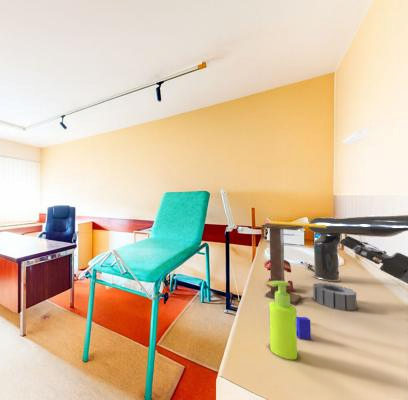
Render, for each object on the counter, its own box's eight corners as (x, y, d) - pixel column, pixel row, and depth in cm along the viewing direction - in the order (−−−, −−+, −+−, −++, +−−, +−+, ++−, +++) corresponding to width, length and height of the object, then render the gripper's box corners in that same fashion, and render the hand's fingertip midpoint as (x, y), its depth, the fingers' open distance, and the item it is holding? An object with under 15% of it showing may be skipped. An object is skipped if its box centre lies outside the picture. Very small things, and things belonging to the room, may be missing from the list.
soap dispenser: (261, 345, 63) (260, 278, 63) (283, 344, 64) (282, 277, 64) (279, 360, 57) (278, 286, 58) (303, 358, 58) (301, 285, 58)
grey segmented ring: (309, 294, 97) (309, 281, 97) (347, 300, 91) (347, 286, 91) (319, 306, 86) (319, 291, 86) (362, 313, 80) (362, 297, 80)
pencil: (265, 224, 99) (264, 221, 99) (266, 223, 100) (265, 220, 99) (326, 228, 83) (325, 225, 82) (326, 227, 83) (326, 223, 83)
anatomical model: (271, 289, 100) (267, 257, 106) (266, 290, 107) (263, 259, 113) (299, 293, 96) (294, 259, 102) (292, 293, 103) (288, 261, 108)
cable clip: (272, 317, 78) (272, 301, 79) (286, 318, 78) (286, 302, 78) (293, 337, 67) (293, 318, 67) (310, 339, 66) (310, 320, 66)
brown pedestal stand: (263, 295, 96) (261, 224, 96) (271, 290, 102) (269, 223, 102) (297, 306, 86) (296, 227, 87) (304, 299, 92) (302, 225, 92)
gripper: (418, 258, 71) (353, 229, 82) (420, 266, 62) (347, 233, 74) (399, 274, 74) (339, 244, 85) (398, 284, 65) (332, 249, 77)
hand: (343, 239), depth 79 cm, fingers open, 8 cm apart
